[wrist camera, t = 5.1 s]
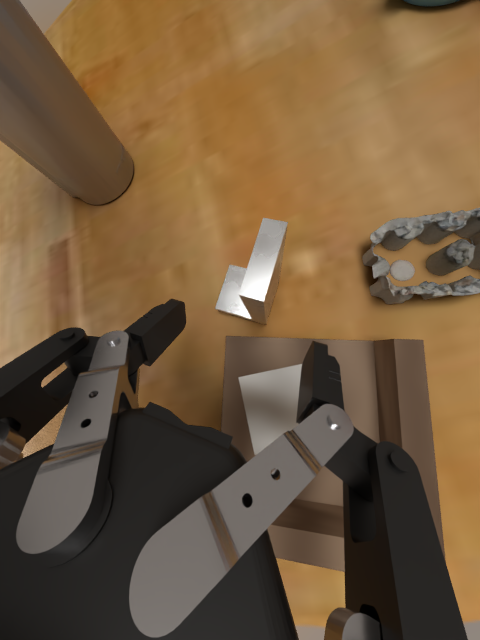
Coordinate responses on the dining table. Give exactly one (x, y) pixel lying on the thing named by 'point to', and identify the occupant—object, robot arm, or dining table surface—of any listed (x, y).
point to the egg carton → (444, 261)
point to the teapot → (430, 2)
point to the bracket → (256, 276)
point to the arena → (360, 405)
